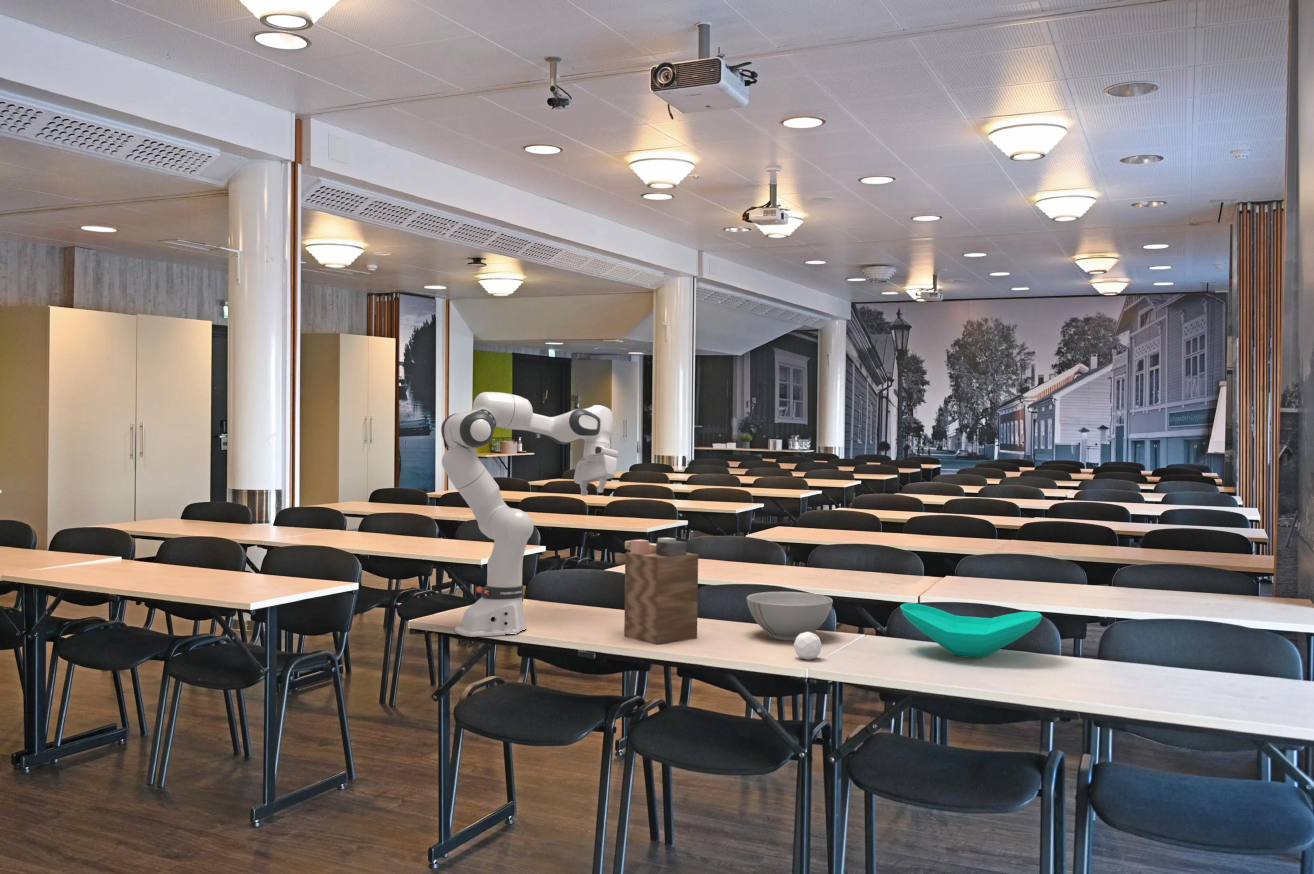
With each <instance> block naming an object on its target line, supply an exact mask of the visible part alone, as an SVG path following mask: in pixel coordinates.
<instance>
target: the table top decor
mask: <svg viewBox="0 0 1314 874" xmlns="http://www.w3.org/2000/svg"><path fill="white" fill-rule="evenodd" d="M899 606H900V609H901V612H902V615H903V616H904V618H906V619H907V620H908V622H909V623H910V624H912V625H913V627H915V628H916V629H917V630H919V631H920V632H921V633H923V634H924V635H926V637H928V638H930V639H931V640H932V641H934V642H935V643H937V644H938V645H939V646H940V647H942V648H944V649H945V650H947V651H948V652H949V653H951V654H952V655H955V656H957V657H963V658H974V659H975V658H977V659H978V658H984V657H988V656H990V655H991V654H994V653H995V652H997V651H999V650H1000V649H1002V648H1004V647H1006V646H1009V644H1011V643H1014V642H1015V641H1017V640H1019V639H1021V637H1023V636H1024V635H1027V634H1028V633H1030V632H1031V631H1033V630H1034V628H1036V627H1037V626H1038V625H1039V624H1041V621H1042V618H1043V615H1042V614H1041V613H1040V612H1037V611H1034V610H1033V611H1022V612H1021V611H1019V612H1014V613H1009V614H1004V615H1003V614H1002V615H999V616H995V617H992V618H991V617H979V616H978V617H977V616H965V615H963V616H961V615H955V614H953V613H949V612H947V611H944V610H941V609H939V608H935V607H932V606H928V605H926V604H919V603H915V602H912V603H911V602H910V603H909V602H908V603H907V602H906V603H902V604H901V605H899Z"/></svg>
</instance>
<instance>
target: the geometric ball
mask: <svg viewBox="0 0 1314 874" xmlns="http://www.w3.org/2000/svg"><path fill="white" fill-rule="evenodd" d="M822 647H823V644H822V642H821V639H820V637H819V636H818V635H817V634H816V633H814V632H812V633H810V632H804V633H800V634H799V635H798V637H797V638H796V640H794V642H793V648H794V651H795V654H796V655H797V656H798V657H799V658H800V659H803V660H806V661H809V660H813V659H816V658H818V656H819V655H820V653H821V650H822Z"/></svg>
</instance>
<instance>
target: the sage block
mask: <svg viewBox="0 0 1314 874" xmlns="http://www.w3.org/2000/svg"><path fill="white" fill-rule="evenodd" d="M671 540H675V541H677V538H675V537H674V538H673V537H658V538H657V542H659V541H671Z"/></svg>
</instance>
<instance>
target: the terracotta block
mask: <svg viewBox="0 0 1314 874" xmlns="http://www.w3.org/2000/svg"><path fill="white" fill-rule="evenodd" d="M630 541H631V550H630V552H631V553H633V554H649V543H650V540H647V539H631V540H630Z"/></svg>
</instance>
